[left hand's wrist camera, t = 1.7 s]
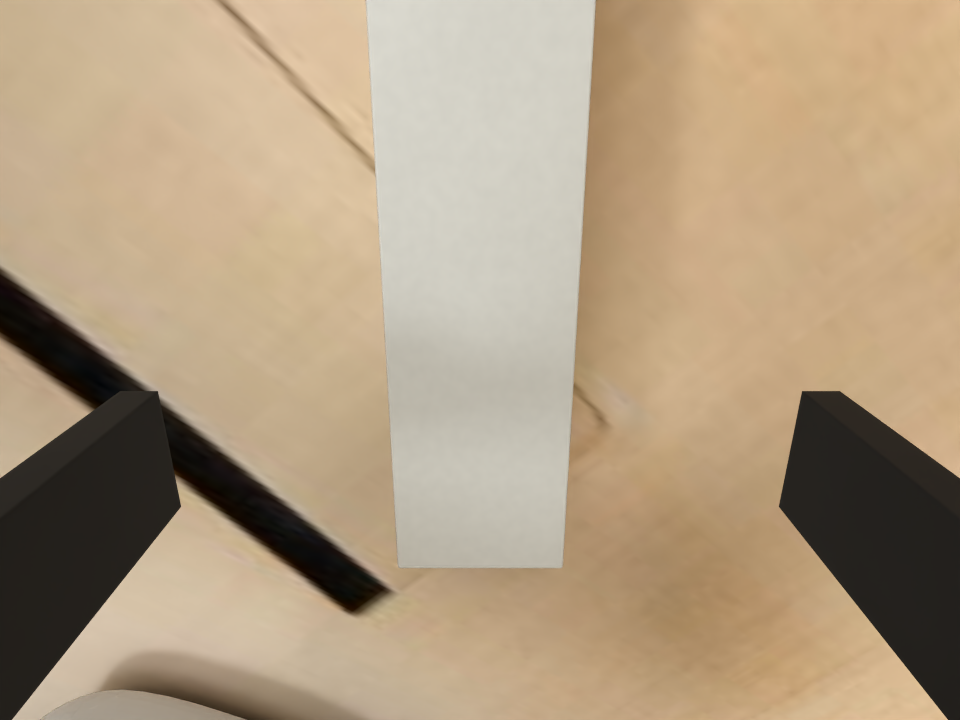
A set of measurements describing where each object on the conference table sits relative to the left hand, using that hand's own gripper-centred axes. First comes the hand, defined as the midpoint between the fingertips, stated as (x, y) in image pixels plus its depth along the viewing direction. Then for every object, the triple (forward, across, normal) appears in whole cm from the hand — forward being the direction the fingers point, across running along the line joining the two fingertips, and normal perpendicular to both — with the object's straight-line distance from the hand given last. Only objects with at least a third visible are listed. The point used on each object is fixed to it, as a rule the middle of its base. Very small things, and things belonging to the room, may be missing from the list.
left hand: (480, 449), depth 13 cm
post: (+12, 0, -30) cm, 33 cm away
